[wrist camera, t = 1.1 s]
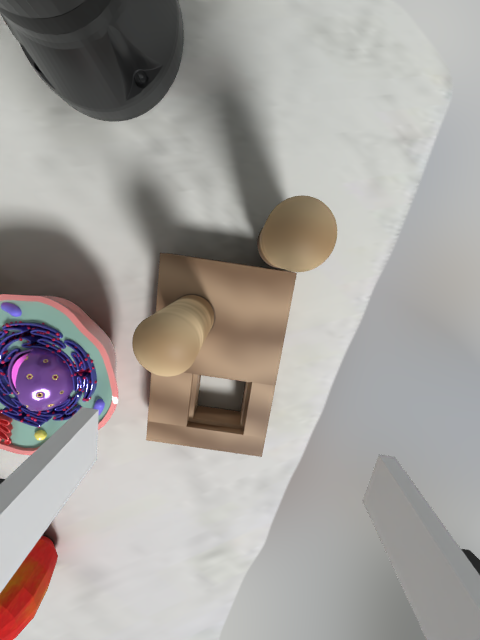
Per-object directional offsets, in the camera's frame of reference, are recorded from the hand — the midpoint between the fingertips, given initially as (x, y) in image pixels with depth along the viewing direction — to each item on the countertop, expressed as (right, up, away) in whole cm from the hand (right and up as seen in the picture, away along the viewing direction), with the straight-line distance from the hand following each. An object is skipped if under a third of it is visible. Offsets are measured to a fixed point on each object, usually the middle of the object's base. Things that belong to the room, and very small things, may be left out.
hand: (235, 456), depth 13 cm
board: (-2, +2, +21) cm, 21 cm away
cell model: (-22, +2, +22) cm, 31 cm away
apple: (-30, -28, +29) cm, 50 cm away
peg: (+4, +15, +18) cm, 24 cm away
